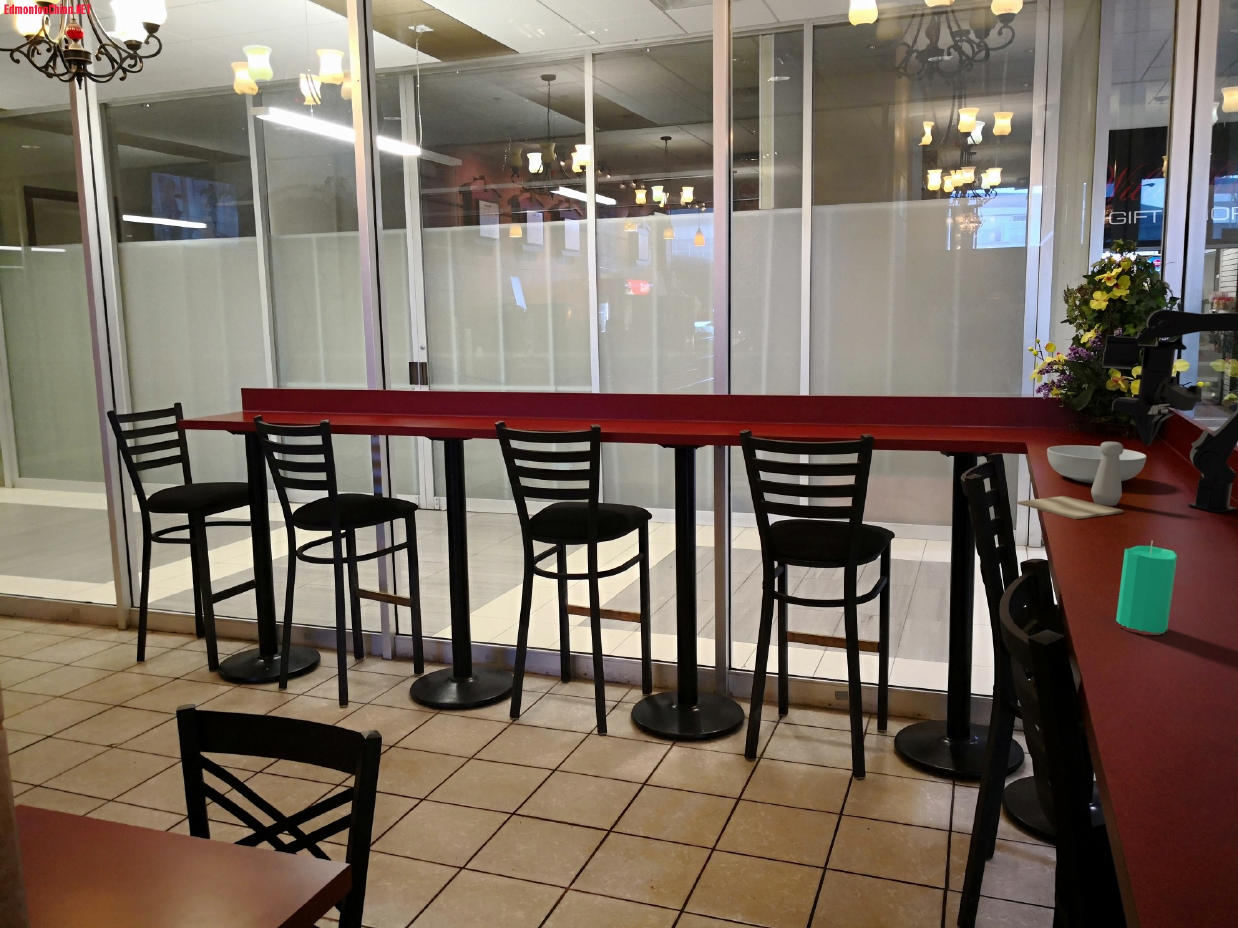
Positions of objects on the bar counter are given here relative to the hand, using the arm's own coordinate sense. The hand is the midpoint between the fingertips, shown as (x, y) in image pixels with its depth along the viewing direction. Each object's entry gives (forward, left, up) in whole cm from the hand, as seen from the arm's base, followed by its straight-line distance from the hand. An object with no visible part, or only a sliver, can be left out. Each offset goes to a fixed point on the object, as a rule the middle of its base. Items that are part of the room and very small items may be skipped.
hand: (1146, 445), depth 202 cm
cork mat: (+20, -2, -12) cm, 23 cm away
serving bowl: (-11, -20, -12) cm, 26 cm away
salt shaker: (+9, -2, -12) cm, 15 cm away
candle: (+72, +50, -12) cm, 89 cm away
